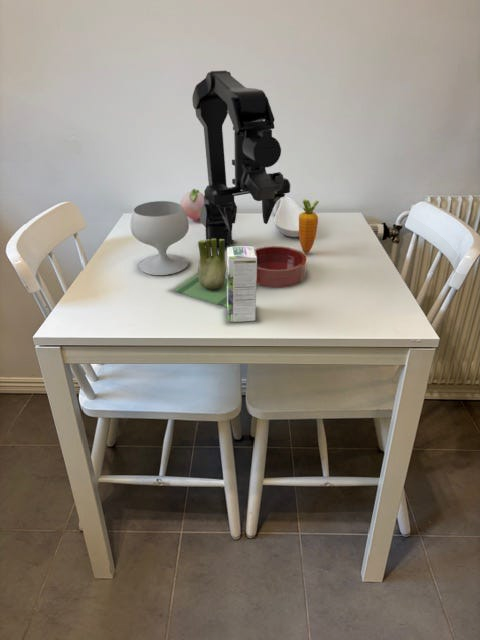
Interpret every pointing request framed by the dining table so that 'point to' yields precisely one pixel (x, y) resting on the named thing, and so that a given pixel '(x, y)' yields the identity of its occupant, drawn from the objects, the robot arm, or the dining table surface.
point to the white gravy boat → (287, 216)
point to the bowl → (280, 266)
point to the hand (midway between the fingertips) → (248, 226)
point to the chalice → (160, 234)
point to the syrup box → (241, 283)
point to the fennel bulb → (212, 264)
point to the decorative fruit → (193, 204)
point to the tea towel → (203, 291)
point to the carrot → (308, 226)
